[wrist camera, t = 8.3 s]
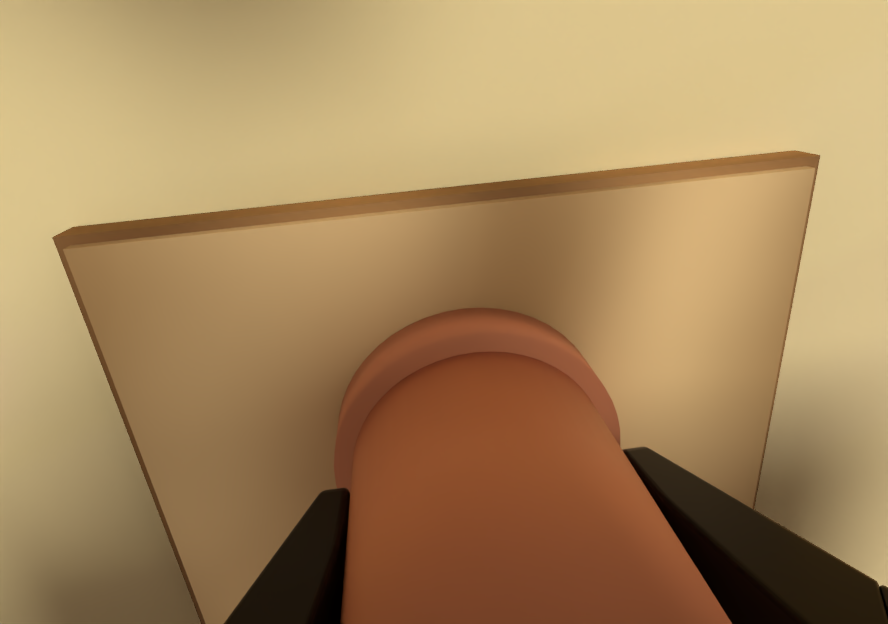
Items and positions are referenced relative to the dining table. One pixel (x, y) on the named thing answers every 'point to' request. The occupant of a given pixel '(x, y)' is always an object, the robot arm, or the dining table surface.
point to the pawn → (499, 487)
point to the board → (425, 294)
